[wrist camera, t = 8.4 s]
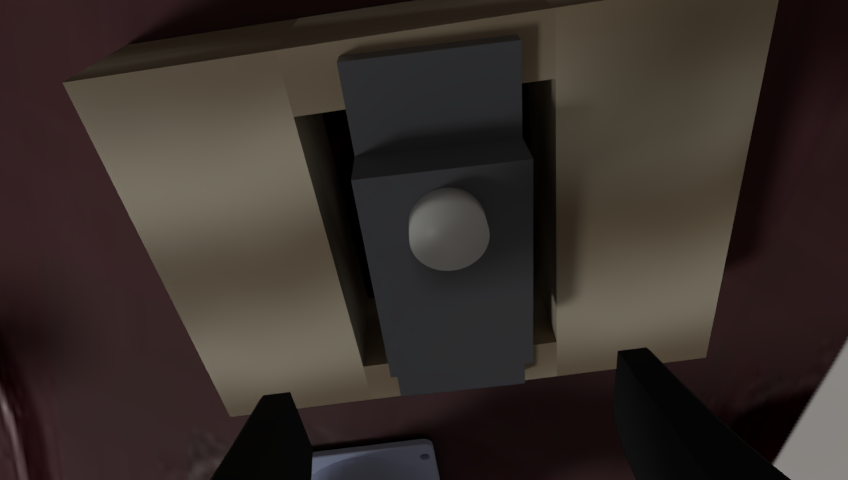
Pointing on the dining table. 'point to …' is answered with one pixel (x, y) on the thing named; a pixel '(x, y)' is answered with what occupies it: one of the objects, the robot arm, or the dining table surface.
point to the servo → (445, 209)
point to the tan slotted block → (325, 209)
